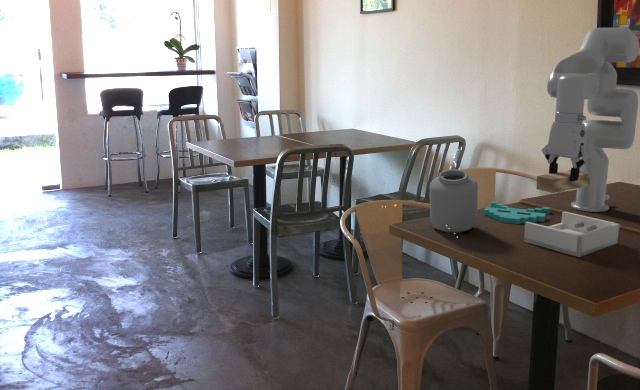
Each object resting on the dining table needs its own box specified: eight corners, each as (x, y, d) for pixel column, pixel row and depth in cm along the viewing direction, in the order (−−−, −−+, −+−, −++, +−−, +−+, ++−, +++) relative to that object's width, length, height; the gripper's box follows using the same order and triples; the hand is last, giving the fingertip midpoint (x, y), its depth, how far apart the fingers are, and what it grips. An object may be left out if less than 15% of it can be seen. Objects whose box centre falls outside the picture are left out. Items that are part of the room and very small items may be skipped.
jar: (468, 241, 190) (473, 159, 184) (421, 235, 196) (423, 155, 190) (480, 224, 207) (484, 149, 201) (436, 220, 213) (438, 146, 207)
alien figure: (492, 207, 231) (478, 220, 214) (492, 201, 230) (478, 214, 213) (549, 213, 222) (540, 228, 205) (550, 207, 221) (540, 221, 204)
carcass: (562, 229, 201) (564, 211, 200) (617, 243, 187) (619, 223, 186) (523, 241, 189) (525, 222, 188) (579, 257, 176) (581, 236, 174)
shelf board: (572, 182, 195) (573, 169, 194) (589, 186, 190) (590, 173, 189) (536, 189, 187) (537, 175, 186) (552, 193, 182) (553, 179, 181)
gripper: (603, 120, 179) (597, 182, 183) (550, 114, 193) (545, 172, 197) (588, 122, 175) (582, 185, 179) (535, 116, 188) (530, 175, 193)
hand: (563, 178), depth 188 cm, fingers closed on shelf board, 6 cm apart
